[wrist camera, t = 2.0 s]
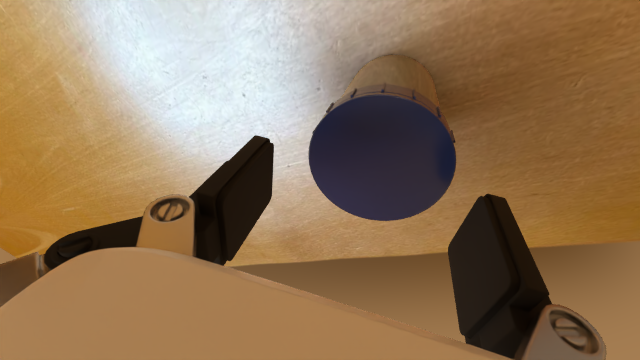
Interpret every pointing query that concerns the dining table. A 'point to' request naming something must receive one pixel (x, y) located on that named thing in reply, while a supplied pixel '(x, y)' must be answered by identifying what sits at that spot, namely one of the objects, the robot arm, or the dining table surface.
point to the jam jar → (396, 75)
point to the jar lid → (383, 153)
